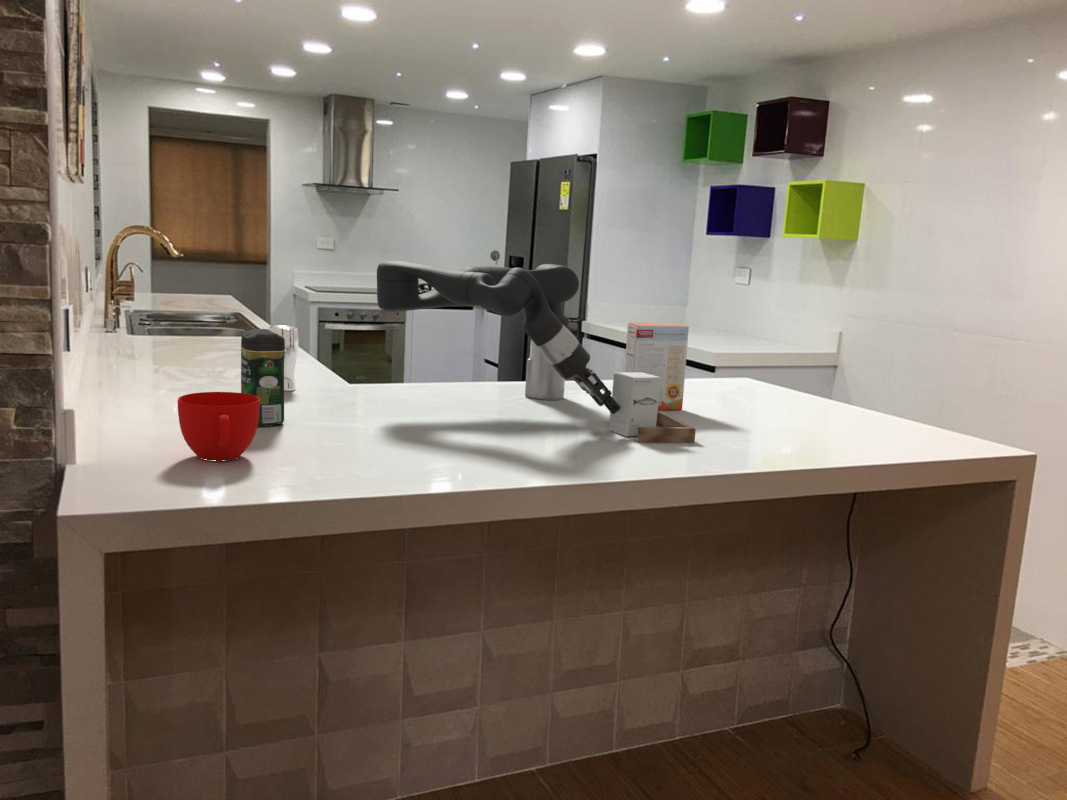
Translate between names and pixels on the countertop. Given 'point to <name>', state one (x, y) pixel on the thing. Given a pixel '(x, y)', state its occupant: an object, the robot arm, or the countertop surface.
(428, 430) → the countertop surface
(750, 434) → the countertop surface
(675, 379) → the cracker box
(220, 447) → the ceramic cup
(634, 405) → the supplement box
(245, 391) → the coffee jar
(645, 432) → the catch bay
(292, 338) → the beer glass
